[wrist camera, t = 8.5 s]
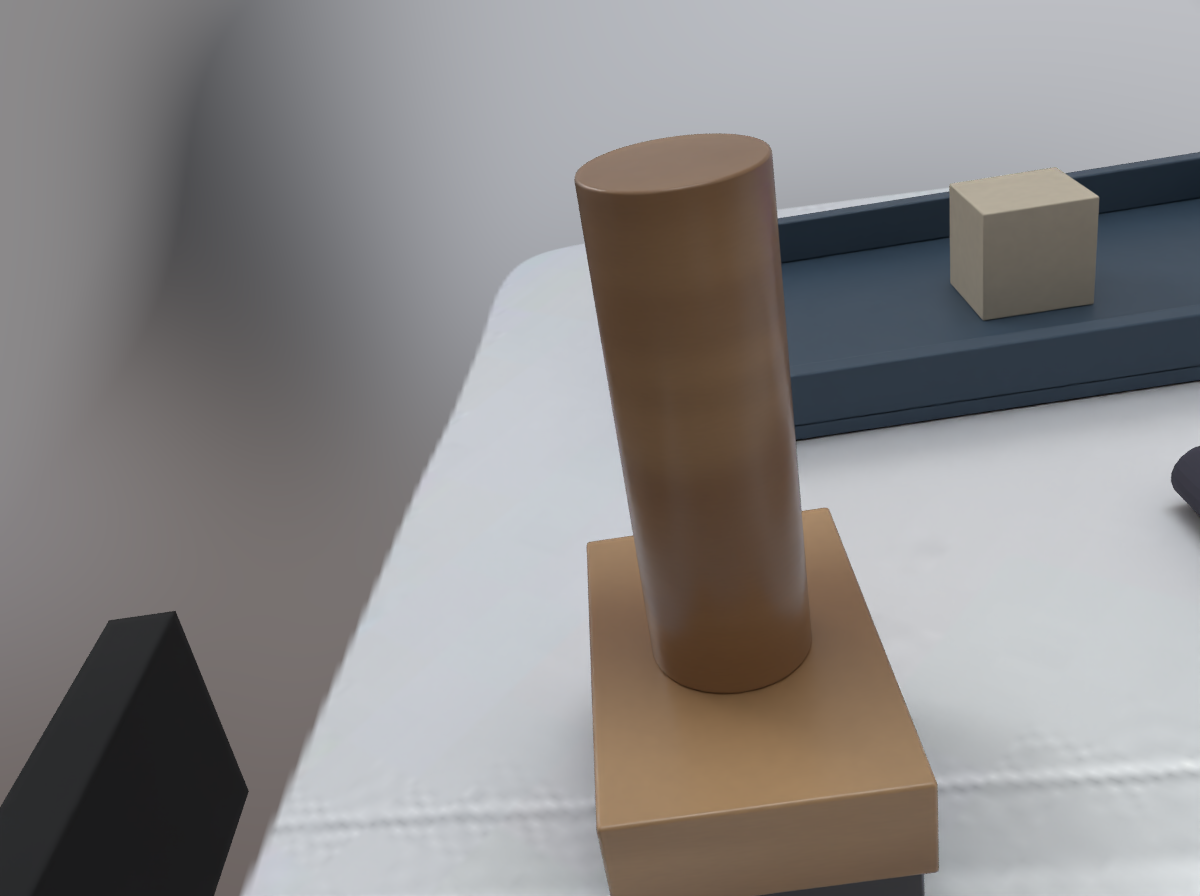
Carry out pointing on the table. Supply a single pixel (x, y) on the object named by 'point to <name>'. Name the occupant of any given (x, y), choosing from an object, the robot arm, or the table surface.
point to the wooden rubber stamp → (728, 569)
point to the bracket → (1188, 478)
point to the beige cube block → (1023, 243)
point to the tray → (956, 332)
